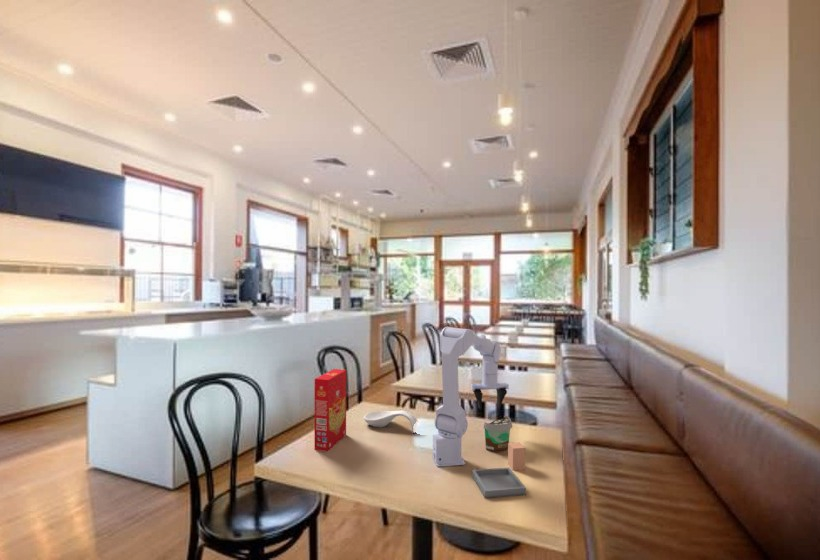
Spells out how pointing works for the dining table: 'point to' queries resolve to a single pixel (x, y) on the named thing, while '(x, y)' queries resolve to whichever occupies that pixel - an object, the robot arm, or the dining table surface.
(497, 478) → the tray
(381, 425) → the spoon rest
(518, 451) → the block
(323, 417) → the food packaging
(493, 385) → the robot arm
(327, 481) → the dining table surface
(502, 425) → the food container
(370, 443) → the dining table surface
